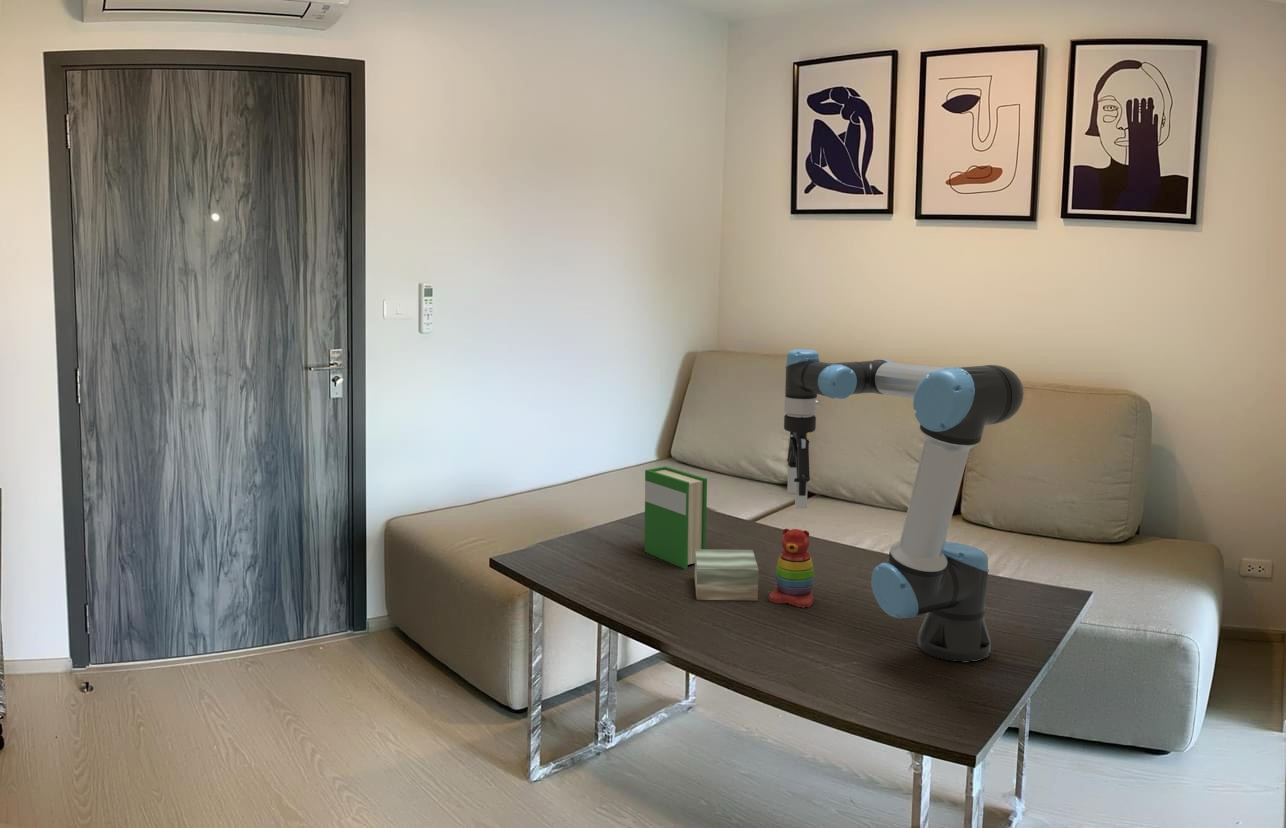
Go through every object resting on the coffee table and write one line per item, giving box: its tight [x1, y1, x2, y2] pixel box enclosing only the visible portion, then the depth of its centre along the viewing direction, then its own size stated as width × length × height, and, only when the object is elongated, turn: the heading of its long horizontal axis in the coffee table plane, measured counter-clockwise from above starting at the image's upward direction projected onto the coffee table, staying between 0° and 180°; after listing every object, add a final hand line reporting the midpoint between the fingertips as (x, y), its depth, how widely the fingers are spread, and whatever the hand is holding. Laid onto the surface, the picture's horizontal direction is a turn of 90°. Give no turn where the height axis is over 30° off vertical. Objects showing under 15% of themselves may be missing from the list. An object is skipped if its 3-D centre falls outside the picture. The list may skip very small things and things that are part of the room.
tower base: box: [694, 548, 760, 601], centre depth 240 cm, size 15×15×8 cm
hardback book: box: [644, 466, 708, 570], centre depth 262 cm, size 18×7×24 cm, turn 38°
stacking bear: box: [767, 528, 815, 609], centre depth 233 cm, size 11×10×18 cm
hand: (796, 500), depth 230 cm, fingers open, 13 cm apart
